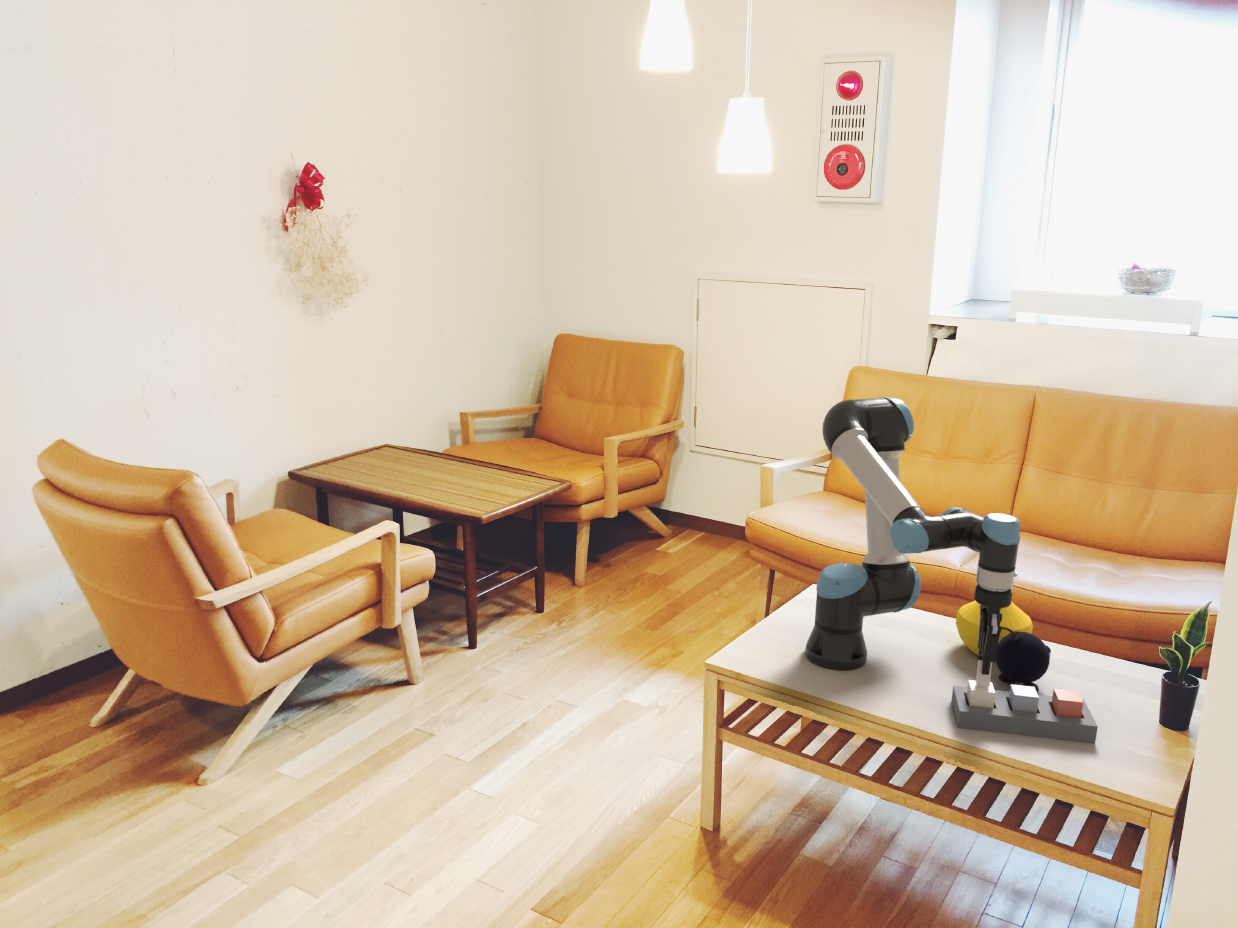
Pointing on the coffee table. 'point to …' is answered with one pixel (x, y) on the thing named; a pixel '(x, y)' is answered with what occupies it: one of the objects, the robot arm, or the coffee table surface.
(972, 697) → the key ivory
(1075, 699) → the key brick
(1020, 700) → the key slate
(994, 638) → the robot arm
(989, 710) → the console
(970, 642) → the vase
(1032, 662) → the toy
